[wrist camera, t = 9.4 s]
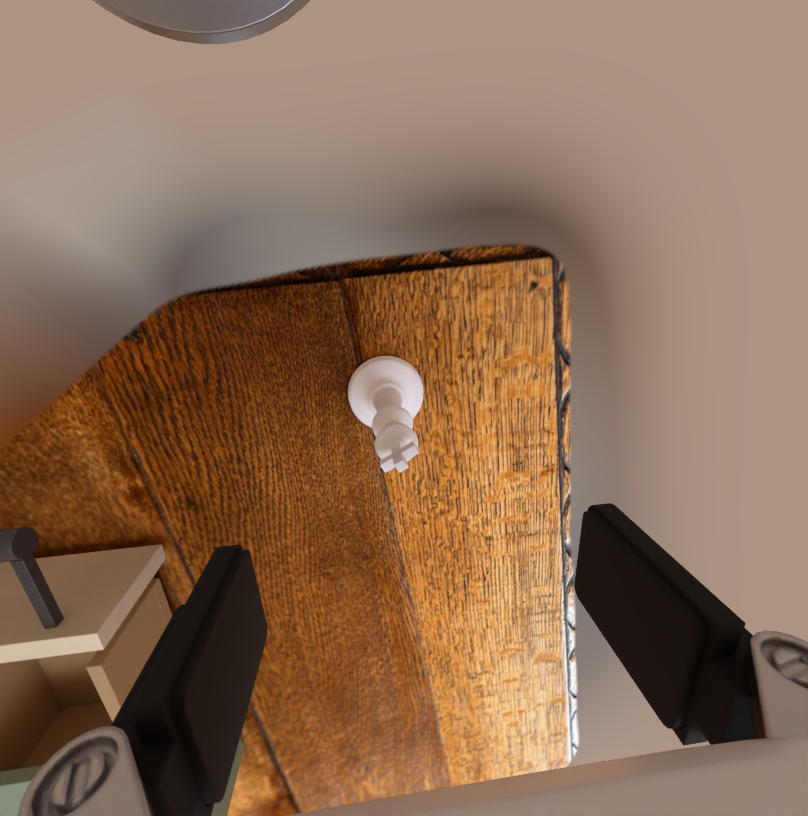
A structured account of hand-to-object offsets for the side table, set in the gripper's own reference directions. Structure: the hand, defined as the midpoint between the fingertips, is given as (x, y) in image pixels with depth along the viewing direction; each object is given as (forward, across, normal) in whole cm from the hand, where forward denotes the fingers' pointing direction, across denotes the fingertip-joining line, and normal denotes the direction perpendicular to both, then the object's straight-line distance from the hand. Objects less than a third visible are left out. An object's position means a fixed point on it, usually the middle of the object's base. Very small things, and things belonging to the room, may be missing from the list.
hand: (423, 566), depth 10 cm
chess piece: (+16, 0, 0) cm, 16 cm away
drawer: (+14, +22, +12) cm, 29 cm away
